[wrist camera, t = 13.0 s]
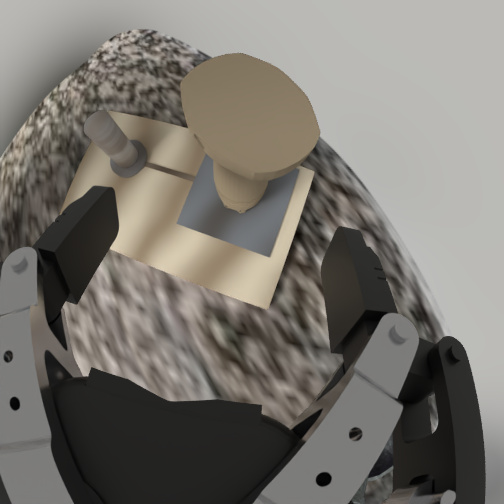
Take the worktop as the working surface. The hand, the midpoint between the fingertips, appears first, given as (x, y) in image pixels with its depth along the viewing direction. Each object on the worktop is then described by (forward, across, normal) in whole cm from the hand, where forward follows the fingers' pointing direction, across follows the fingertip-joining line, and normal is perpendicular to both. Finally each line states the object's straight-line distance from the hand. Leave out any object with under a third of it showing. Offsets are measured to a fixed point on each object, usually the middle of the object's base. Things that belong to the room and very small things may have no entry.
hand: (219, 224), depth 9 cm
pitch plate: (+15, +6, +9) cm, 18 cm away
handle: (+14, 0, +7) cm, 16 cm away
